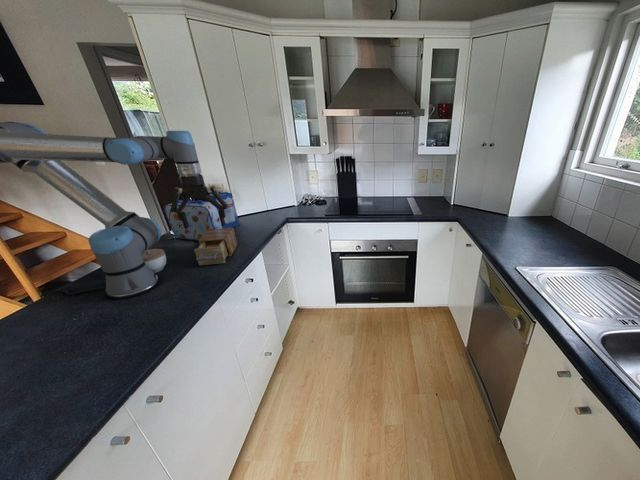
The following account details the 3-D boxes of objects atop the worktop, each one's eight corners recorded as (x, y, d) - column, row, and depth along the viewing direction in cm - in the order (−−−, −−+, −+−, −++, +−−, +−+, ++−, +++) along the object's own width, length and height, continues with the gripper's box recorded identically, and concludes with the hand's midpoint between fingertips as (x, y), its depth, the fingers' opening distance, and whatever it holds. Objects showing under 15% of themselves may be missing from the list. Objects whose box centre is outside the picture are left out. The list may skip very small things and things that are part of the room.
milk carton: (223, 229, 163) (215, 196, 155) (218, 227, 166) (209, 195, 157) (239, 224, 171) (231, 193, 162) (233, 223, 174) (225, 191, 165)
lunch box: (231, 235, 155) (221, 197, 145) (220, 242, 145) (208, 202, 136) (185, 233, 157) (173, 195, 147) (171, 240, 147) (157, 200, 138)
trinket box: (153, 277, 113) (145, 257, 109) (132, 274, 115) (123, 254, 111) (176, 265, 122) (169, 246, 118) (156, 263, 124) (148, 244, 120)
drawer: (222, 268, 119) (217, 251, 115) (195, 270, 116) (189, 254, 113) (231, 250, 135) (227, 236, 131) (208, 252, 132) (203, 238, 129)
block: (207, 259, 123) (204, 249, 121) (210, 255, 128) (207, 245, 125) (219, 258, 125) (216, 248, 122) (222, 253, 129) (219, 244, 127)
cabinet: (231, 256, 131) (226, 237, 127) (204, 258, 128) (198, 240, 124) (237, 244, 144) (233, 227, 140) (213, 246, 141) (207, 229, 137)
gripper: (147, 177, 98) (167, 232, 108) (224, 175, 105) (236, 227, 114) (156, 173, 105) (174, 225, 114) (228, 172, 111) (239, 221, 121)
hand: (205, 226), depth 114 cm, fingers open, 13 cm apart
